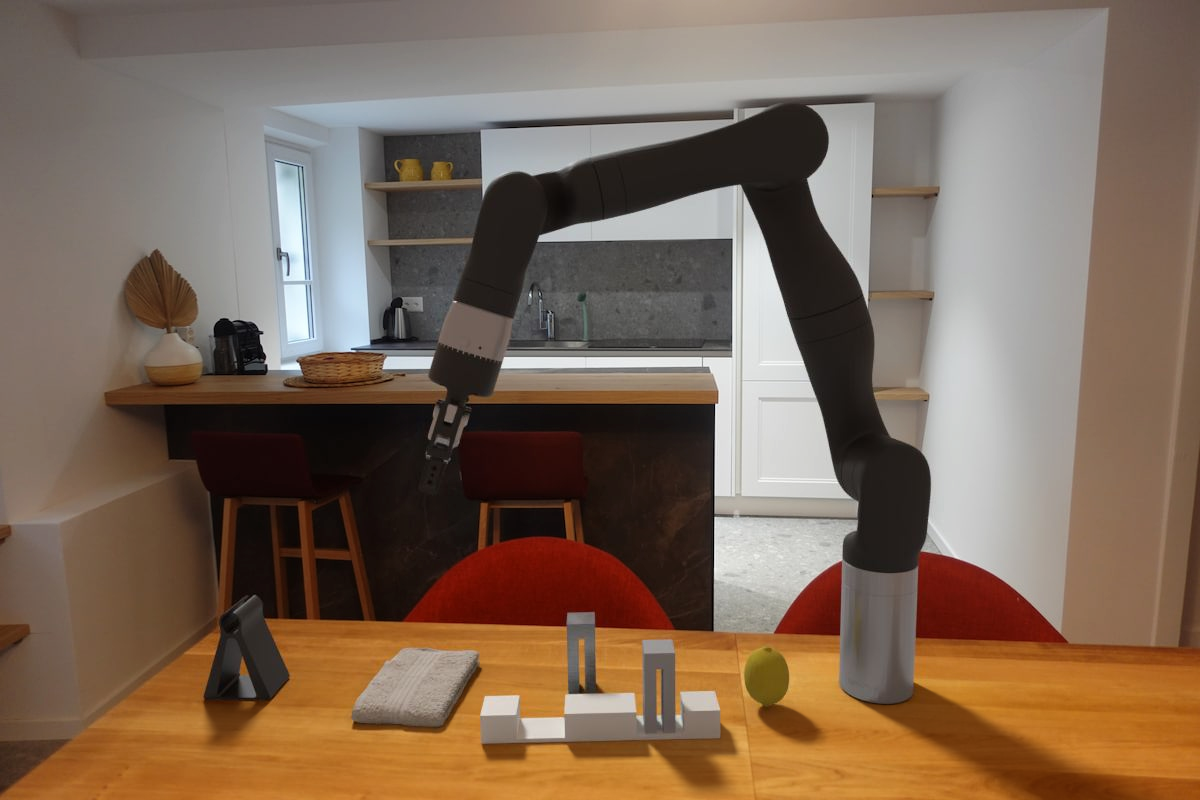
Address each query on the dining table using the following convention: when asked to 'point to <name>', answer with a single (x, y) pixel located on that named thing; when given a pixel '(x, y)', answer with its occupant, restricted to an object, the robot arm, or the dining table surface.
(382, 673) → the washcloth
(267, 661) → the phone stand
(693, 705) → the rail
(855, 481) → the robot arm
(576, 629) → the grey slotted block
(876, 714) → the dining table surface
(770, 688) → the lemon
